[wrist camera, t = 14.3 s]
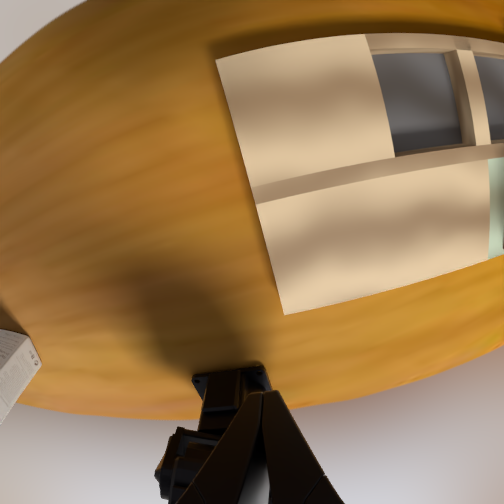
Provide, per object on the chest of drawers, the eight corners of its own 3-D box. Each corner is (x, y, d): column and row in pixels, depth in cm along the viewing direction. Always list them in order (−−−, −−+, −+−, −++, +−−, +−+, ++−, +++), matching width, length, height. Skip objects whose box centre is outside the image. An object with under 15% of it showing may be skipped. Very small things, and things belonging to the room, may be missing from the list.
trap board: (537, 228, 18) (560, 241, 15) (282, 299, 21) (285, 328, 18) (520, 52, 12) (546, 49, 9) (220, 67, 16) (210, 53, 12)
